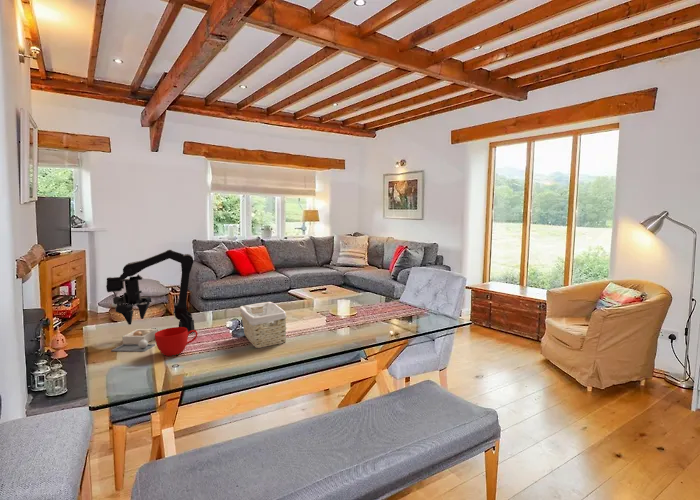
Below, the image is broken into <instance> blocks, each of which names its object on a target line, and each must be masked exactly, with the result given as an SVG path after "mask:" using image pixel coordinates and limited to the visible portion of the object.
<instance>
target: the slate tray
mask: <svg viewBox="0 0 700 500" xmlns="http://www.w3.org/2000/svg"><path fill="white" fill-rule="evenodd" d="M153 347H156V343H148V346H147V347H146V348H143V349H142V348H139V346H138V344H123V343H122V344H120V345H119V346H117V347H115V348H112V349H111V352H121V353H122V352H129V353H130V352H135V353H136V352H137V353H141V352H142V353H144V352H146V351H148V350H150V349H151V348H153Z"/></svg>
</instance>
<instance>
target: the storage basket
mask: <svg viewBox="0 0 700 500" xmlns="http://www.w3.org/2000/svg"><path fill="white" fill-rule="evenodd" d="M260 309H263V310H262V311H261V312H256V313H253V311H254V310H260ZM239 312H240V315H241V319H242V320H241V321H242V327H243V328H242V329H243V332H244V336H245V337H246V339H247V340H248V341H249V343H251V344H252V346H253V347H255V348H256V349H260V348H266V347H270V346H276V345H280V344H284V343H286V342H287V335H286V334H287V330H286V329H287V326H286V325H287V324H286V319H287V312H286V311H285V310H284V309H283V308H281V307H280V306H279V305H277V304H276V303H274V302H271V301H266V302H258V303H253V304H251V303H250V304H246V305H241V306H239Z"/></svg>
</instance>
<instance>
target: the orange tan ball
mask: <svg viewBox="0 0 700 500" xmlns="http://www.w3.org/2000/svg"><path fill="white" fill-rule="evenodd" d="M133 336H142V332H140V331H136V332H134V334H133Z"/></svg>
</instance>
